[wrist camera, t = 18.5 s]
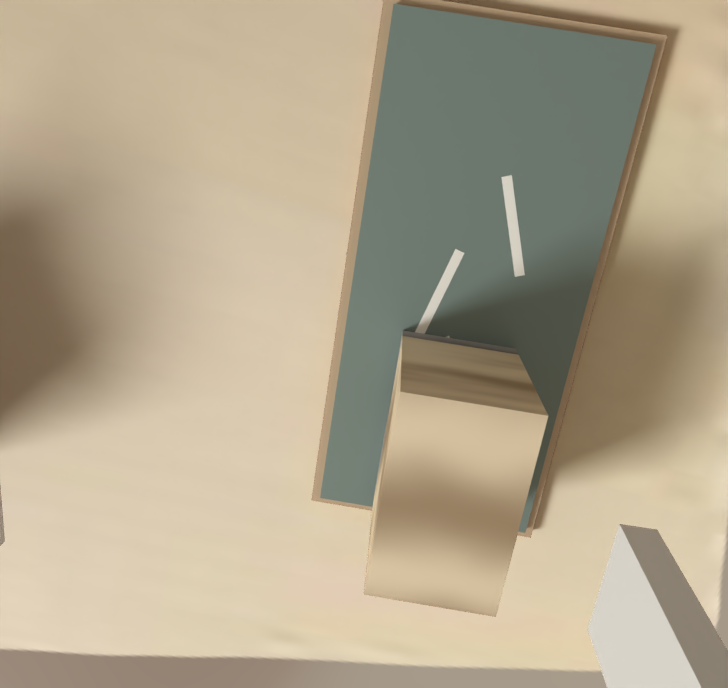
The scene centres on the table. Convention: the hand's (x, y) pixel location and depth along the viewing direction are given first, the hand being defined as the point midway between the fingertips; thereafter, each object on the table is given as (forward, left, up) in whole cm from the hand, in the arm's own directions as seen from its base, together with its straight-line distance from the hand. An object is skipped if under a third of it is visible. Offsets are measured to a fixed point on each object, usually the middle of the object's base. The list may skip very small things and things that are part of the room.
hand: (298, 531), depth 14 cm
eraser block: (+6, +5, -21) cm, 23 cm away
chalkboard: (-1, +5, -22) cm, 23 cm away
